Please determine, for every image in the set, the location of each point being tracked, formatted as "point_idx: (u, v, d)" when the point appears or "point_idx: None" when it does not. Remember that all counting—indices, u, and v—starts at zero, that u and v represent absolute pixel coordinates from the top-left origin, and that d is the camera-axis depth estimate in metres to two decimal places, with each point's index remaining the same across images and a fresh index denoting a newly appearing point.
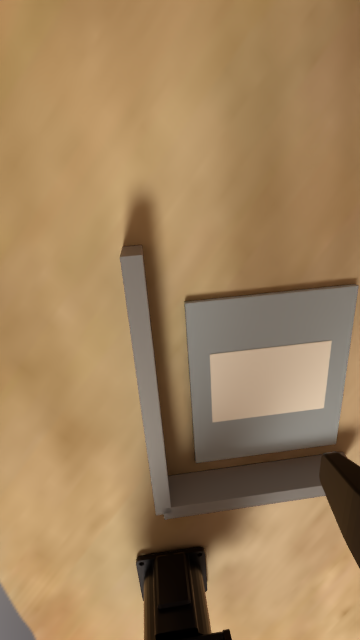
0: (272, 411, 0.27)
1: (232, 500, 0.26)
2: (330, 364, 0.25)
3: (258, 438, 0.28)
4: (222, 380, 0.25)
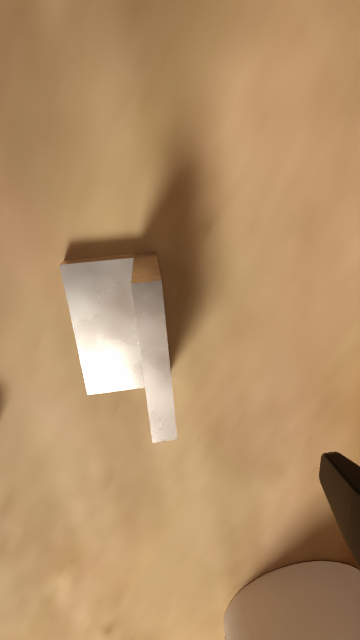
0: None
1: None
2: None
3: None
4: None
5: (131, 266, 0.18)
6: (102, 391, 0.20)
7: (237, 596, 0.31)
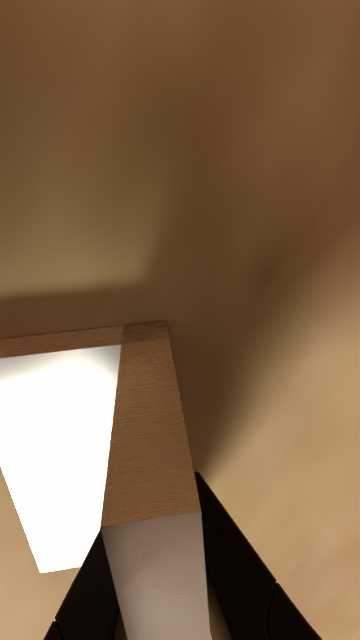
0: None
1: None
2: None
3: None
4: None
5: (117, 360, 0.09)
6: (67, 566, 0.11)
7: None
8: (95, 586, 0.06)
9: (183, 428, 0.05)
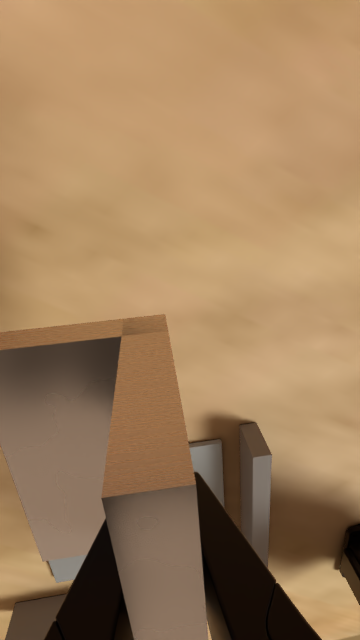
0: None
1: None
2: None
3: None
4: None
5: (117, 352, 0.09)
6: (69, 555, 0.12)
7: None
8: (95, 585, 0.06)
9: (180, 411, 0.06)
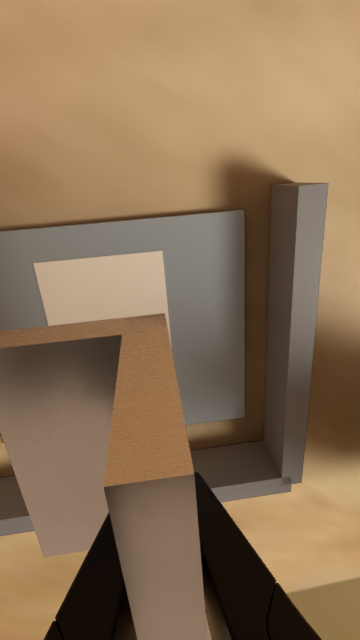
0: None
1: (289, 408, 0.17)
2: (77, 255, 0.16)
3: (213, 344, 0.18)
4: None
5: (118, 350, 0.09)
6: (70, 550, 0.12)
7: None
8: (95, 586, 0.06)
9: (179, 406, 0.06)
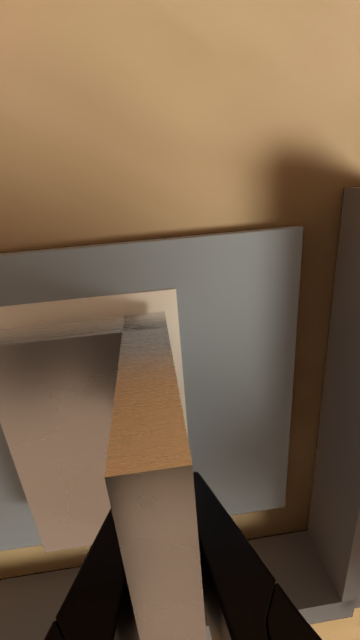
0: None
1: None
2: (44, 298, 0.10)
3: (246, 416, 0.13)
4: None
5: (118, 347, 0.09)
6: (71, 546, 0.12)
7: None
8: (95, 586, 0.06)
9: (178, 401, 0.06)
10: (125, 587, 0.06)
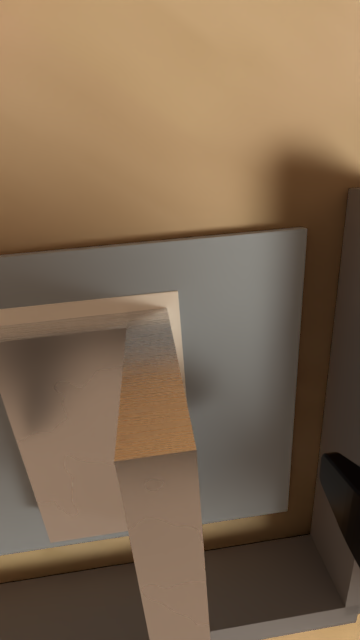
0: None
1: None
2: (44, 300, 0.10)
3: (249, 420, 0.13)
4: None
5: (122, 342, 0.09)
6: (75, 537, 0.12)
7: None
8: None
9: (182, 392, 0.06)
10: None
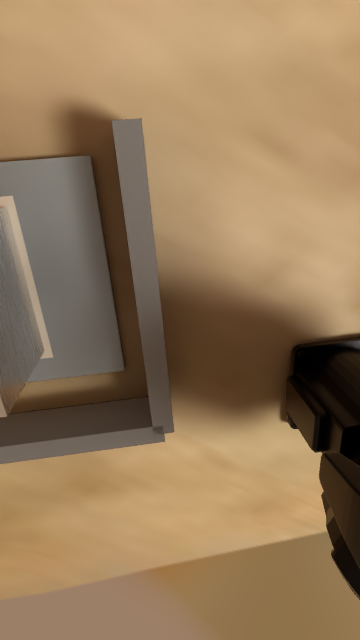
0: (28, 279, 0.18)
1: (146, 353, 0.18)
2: None
3: (80, 293, 0.19)
4: None
5: None
6: None
7: None
8: None
9: None
10: None
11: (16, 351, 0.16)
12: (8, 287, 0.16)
